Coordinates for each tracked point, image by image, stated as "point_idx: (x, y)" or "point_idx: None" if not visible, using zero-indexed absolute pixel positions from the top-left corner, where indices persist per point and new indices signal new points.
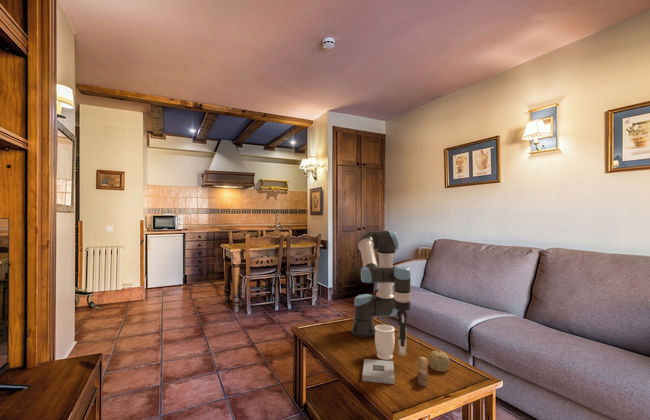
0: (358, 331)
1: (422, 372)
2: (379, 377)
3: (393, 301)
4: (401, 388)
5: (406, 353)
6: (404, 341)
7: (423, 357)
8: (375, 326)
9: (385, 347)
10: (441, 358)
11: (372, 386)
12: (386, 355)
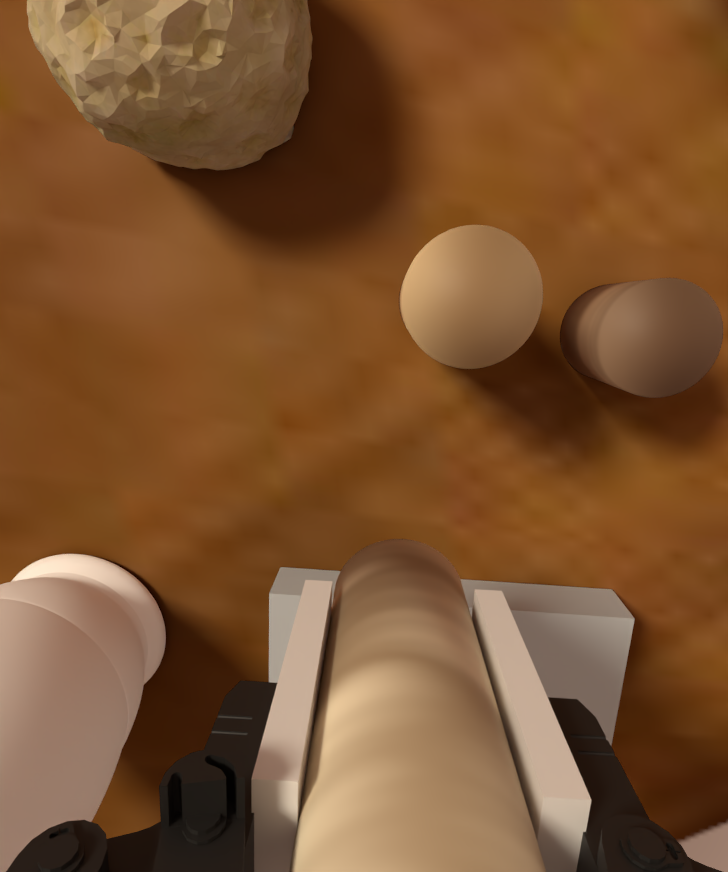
0: None
1: (654, 337)
2: (608, 738)
3: None
4: (683, 538)
5: (413, 545)
6: (565, 762)
7: (420, 277)
8: None
9: (118, 727)
10: None
11: (655, 758)
12: (141, 644)
